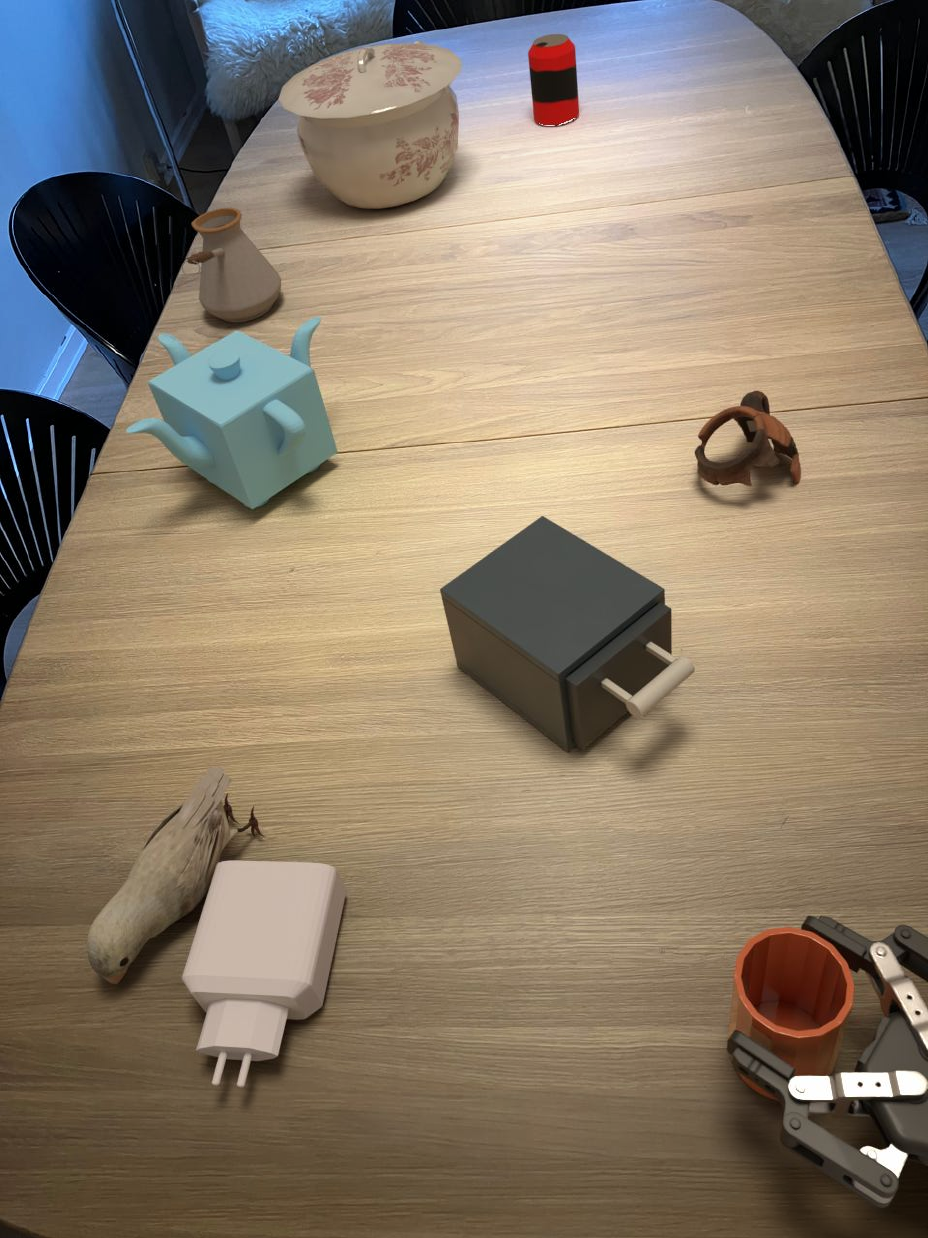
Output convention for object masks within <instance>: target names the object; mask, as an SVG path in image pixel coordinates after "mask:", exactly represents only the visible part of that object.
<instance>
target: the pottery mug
mask: <svg viewBox="0 0 928 1238" xmlns="http://www.w3.org/2000/svg"><path fill="white" fill-rule="evenodd" d="M770 409H771V408H770V402H769V398H768V396H767V395H766V394H765V393H764V392H763V391H760V390H753V391H750V392H747V393H746V394H744V396H743V397H742V398H741V401H740V406H739V405H737V406H731V407H728V408H726V409H723V410H722V411H719V412H718V413H716V414H715V415H713V416H712V417H711V418H710V419H709V420H708V421H707V422H706V423H705V424H704V425H703V426H702V427H701V429H700V430H699V433H698V434H697V438H698V439H699V440H700V441H701V443H700V444H699V445H698V446H697V447H696V448H695V450H694V457H695V458H696V463H697V464H696V466H697V474H698V475H699V476H700V477H701V478H702V479H703V480H704V481H706V483H709V484H712V485H713V486H718V485H720V486H729V485H733V484H734V485H735V484H742V485H744V486H748V487H752V486H753V483H752V479H751V478H752V477H751V475H752V473H751V470H752V469H751V468H752V466H754V467H756V468H766V467H769V468H773V467H775V466H777V465H778V464H779V463H780V459H779V458H778V456H777V455H776V454H778V455H783V456H787V457H788V458H789V459H791V465H790V468H789V472H790V474H791V475H792V480H793V482H794V484H798V483H799V482H800V479H801V475H802V467H801V462H800V453H799V451H798V448H797V444H796V442H795V440H794V438H793V436H792V435H791V432H790V431H789V429H788V428H787V427H786V426H785V425H784V424H783V423H782V422H781V421H780V420H779V419H778V418H777V417H776V416H773V415H771V410H770ZM731 420H734V421H735V422H736V423H737V425H738V426H739V427H740V429H741V430H742V433H743V435H744V437H745V440H746V443H749V444H750V445H749V446H748V447H747V448H746V450H745V451H744V452H742V453H741V454H740V455H738V456H736V457H735V458H732V459H729V460H726V461H722V462H719V461H718V462H716V461H713V460H710V459H709V458H708V457H707V456H706V454H705V448H706V446H707V444H708V442H709V441H710V439H711V437H712V436H713V435H714V434H715V432H716V431H717V430H718V429H719V428H721V427H722V426H723V425H724V424H726V423H728V422H729V421H731ZM770 441H771V443H770Z"/></svg>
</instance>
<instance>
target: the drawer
mask: <svg viewBox="0 0 928 1238" xmlns="http://www.w3.org/2000/svg"><path fill="white" fill-rule="evenodd" d="M672 615H673V614H672V608H671V607H669V606H668V605H666V603H665V604H663V603H661V602H659V603H658V604H657V605H655V606H654V607H653V608H652V609H651V610H649V611H648V612H647V613H646V614H644V615H643V616H642V617H641V618H640V617H639V618H637V619H636V620H635V621H634V622H632V623H631V624H630V625H629V626H628V627H626V628H625V629H624V630H623V631H621V632H620V633H619V634H618V635H616V636H615V637H614V638H613V639H611V640H610V641H609V642H608V643H606V644H605V645H604V646H603V647H601V648H600V649H599V650H598V651H597V652H595V653H594V654H593V655H592V656H590V657H589V658H588V659H587V660H585V661H584V662H583V663H582V664H580V665H579V666H578V667H577V668H575V669H574V670H573V671H572V672H571V673H569V674H568V675H567V677H566V678H565V681H566V690H567V698H568V707H569V715H570V724H571V732H572V741H573V742H574V743H575V744H576V746H578V748H580V749H581V750H585V748H587V747H588V746H589V745H590V744H591V743H592V742H594V741H595V740H596V739H597V738H599V736H601V735H602V734H604V732H605V731H607V730H608V729H609V728H610V727H611V726H613V725H614V724H615V723H616V722H618V720H619V719H621V718H622V717H623V716H624V715H626V714H627V713H628V712H629V713H630V714H631V715H632V716H633V717H634V718H636V719H642V718H643V717H644V716H645V715H646V714H648V713H649V712H650V711H651V710H652V709H653V708H654V707H656V706H657V705H658V704H660V703H661V701H663V700H664V699H665V698H666V697H668V695H670V694H671V693H673V691H674V690H676V689H677V688H678V687H679V686H680V685H681V684H683V683H684V682H685V681H687V680H688V678H689V677H691V676H693V674H694V673H695V671H696V668H695V666H694V664H693V662H692V661H691V660H690V659H689V658H688V657H686V656H683V655H681V656H678V657H676V656H674V655H673V653H672V652H673V651H672V650H673V649H672V648H673V645H672V641H673V640H672V638H673V637H672V636H673V634H672V633H673V632H672V631H673V630H672V629H673V628H672V621H673V620H672V619H673V618H672V617H673V616H672Z"/></svg>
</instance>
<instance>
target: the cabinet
mask: <svg viewBox="0 0 928 1238" xmlns="http://www.w3.org/2000/svg"><path fill="white" fill-rule="evenodd" d="M439 591H440V596H441V601H442V606H443V608H444V614H445V618H446V623H447V627H448V631H449V632H448V633H449V635H450V640H451V644H452V648H453V654H454V658H455V662H456V666H457V668H458V669H460V670H461V671H462V672H464V673H465V674H466V675H467V676H468V677H470V678H471V679H472V680H473V681H475V682H476V683H478V684H479V685H480V686H482V687H483V689H485V690H487V691H488V692H489V693H491V694H492V695H493V696H494V697H496V698H497V699H498V700H499V701H501V702H502V703H503V704H504V705H506V706H507V707H509V708H510V709H511V710H512V711H514V712H515V713H516V714H518V715H519V716H520V717H521V718H522V719H524V720H525V721H527V722H528V723H529V724H530V725H532V726H533V727H534V728H535V729H537V730H538V731H539V732H541V733H542V734H543V735H544V736H545V737H547V738H548V739H549V740H551V741H552V742H553V743H555V744H556V745H557V746H558V747H560V748H561V749H562V750H563V751H565V752H566V753H569V752H571V751H572V750H573V749H574V748H576V746H577V745H576V744H575V743H574V742H573V741H572V732H571V724H570V715H569V707H568V698H567V690H566V681H565V678H566V677H567V675H568V674H569V673H571V672H572V671H573V670H574V669H575V668H577V667H578V666H579V665H580V664H582V663H583V662H584V661H585V660H587V659H588V658H589V657H590V656H592V655H593V654H594V653H595V652H597V651H598V650H599V649H600V648H601V647H603V646H604V645H605V644H606V643H608V642H609V641H610V640H611V639H613V638H614V637H615V636H616V635H618V634H619V633H620V632H621V631H623V630H624V629H625V628H626V627H628V626H629V625H630V624H631V623H632V622H634V621H635V620H636V619H637V618H639V617H640V618H641V617H642V616H643V615H644V614H646V613H647V612H648V611H649V610H651V609H652V608H653V607H654V606H655V605H657V604H658V603H659V602H661V603H663V604H665V605H666V597H665V596H666V589H665V588H664V587H662V586H661V585H659V584H657V583H655V582H654V581H653V580H651V579H649V578H647V577H646V576H644V575H642V574H640V573H639V572H637V571H636V570H634V569H632V568H630V567H629V566H628V565H625V564H623V563H622V562H621V561H619V560H618V559H615V558H614V557H613V556H611V555H609V554H607V553H606V552H603V551H602V550H601V549H598V547H596V546H594V545H592V544H590V543H589V542H587V541H585V540H584V539H582V538H581V537H579V536H577V535H575V534H574V533H572V532H571V531H569V530H567V529H566V528H564V527H562V526H561V525H559V524H557V523H555V522H554V521H552V520H550V519H549V518H548V517H546V516H543V515H541V516H540V517H538V518H537V519H536V520H534V521H532V522H531V523H530V524H529V525H527V526H526V527H524V528H523V529H522V530H520V531H518V532H517V533H516V534H514V535H513V536H512V537H510V538H509V539H508V540H507V541H505V542H504V543H502V544H501V545H500V546H498V547H497V548H495V549H493V550H492V551H491V552H490V553H488V554H487V555H485V556H484V557H483V558H481V559H479V561H477V562H475V563H474V564H473V565H472V566H470V567H469V568H467V569H466V570H465V571H463V572H462V573H460V574H459V575H458V576H456V577H454V579H452V580H450V581H449V582H448V583H446V584H445V585H443V586H441V588H439Z"/></svg>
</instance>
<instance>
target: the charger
mask: <svg viewBox="0 0 928 1238" xmlns="http://www.w3.org/2000/svg"><path fill="white" fill-rule="evenodd" d="M346 895H347V888H346V886H345V883H344V881H343V879H342V877H341V875H340V872H339V870H338V869H337V868H336V866H333V865H331V864H327V863H323V862H322V863H321V862H310V861H309V862H308V861H307V862H306V861H304V862H303V861H272V860H271V861H269V860H267V861H265V860H237V859H235V860H222V861H219V863H218V864H217V866H216V869H215V872H214V875H213V879H212V881H211V884H210V886H209V887H208V892H207V895H206V899H205V901H204V904H203V907H202V910H201V914H200V918H199V921H198V924H197V927H196V930H195V934H194V937H193V940H192V944H191V947H190V950H189V953H188V957H187V959H186V963H185V967H184V970H183V973H182V976H181V980H182V982H183V984H184V985H185V987H186V988H187V990H188V991H189V993H190V994H191V996H192V997H193V998H194V999H195V1001H196V1003H198V1005H199V1006H200V1008H201V1009H202V1010H203V1011H204V1013H206V1014H205V1017H204V1020H203V1024H202V1028H201V1032H200V1036H199V1039H198V1042H197V1045H196V1050H195V1051H196V1052H198V1053H201V1054H203V1055H207V1056H211V1057H215V1058H217V1062H216V1065H215V1069H214V1072H213V1077H212V1081H211V1085H212V1086H214V1087H218V1086H219V1085H220V1084H221V1080H222V1078H223V1073H224V1068H225V1065H226V1060H235V1061H236V1060H237V1061H242V1062H241V1066H240V1071H239V1075H238V1078H237V1082H236V1087H238V1088H240V1089H243V1088H244V1087H245V1085H246V1083H247V1079H248V1078H247V1077H248V1074H249V1070H250V1065H251V1062H261V1061H268V1060H273V1059H275V1058H277V1057H278V1056H279V1054H280V1049H281V1044H282V1040H283V1035H284V1031H285V1026H286V1023H287V1020H298V1021H299V1020H306V1019H307V1018H309V1017H310V1016H312V1015H313V1014H314V1013H315V1012H317V1011H318V1010H319V1009H321V1008H322V1007H323V1005H324V1004H323V1003H324V999H325V995H326V990H327V985H328V981H329V975H330V970H331V967H332V961H333V957H334V952H335V947H336V944H337V943H336V942H337V937H338V933H339V928H340V923H341V918H342V914H343V909H344V904H345V899H346Z"/></svg>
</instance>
